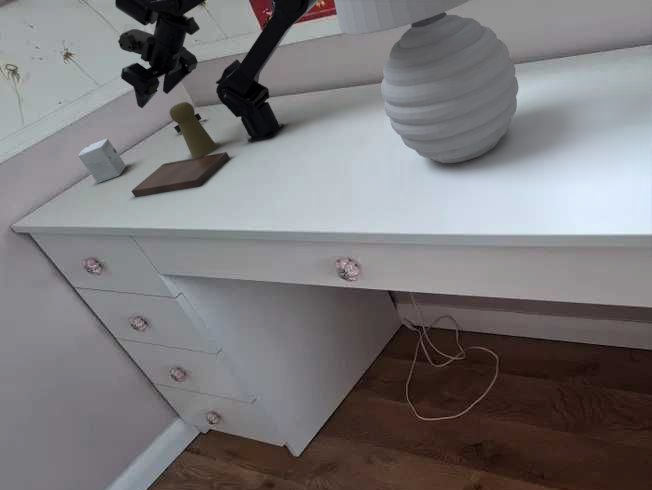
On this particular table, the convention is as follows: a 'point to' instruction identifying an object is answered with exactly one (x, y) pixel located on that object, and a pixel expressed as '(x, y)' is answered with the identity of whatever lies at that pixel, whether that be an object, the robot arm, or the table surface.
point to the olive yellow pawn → (192, 130)
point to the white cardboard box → (102, 160)
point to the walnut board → (181, 174)
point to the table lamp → (439, 76)
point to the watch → (178, 125)
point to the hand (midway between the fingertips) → (153, 99)
